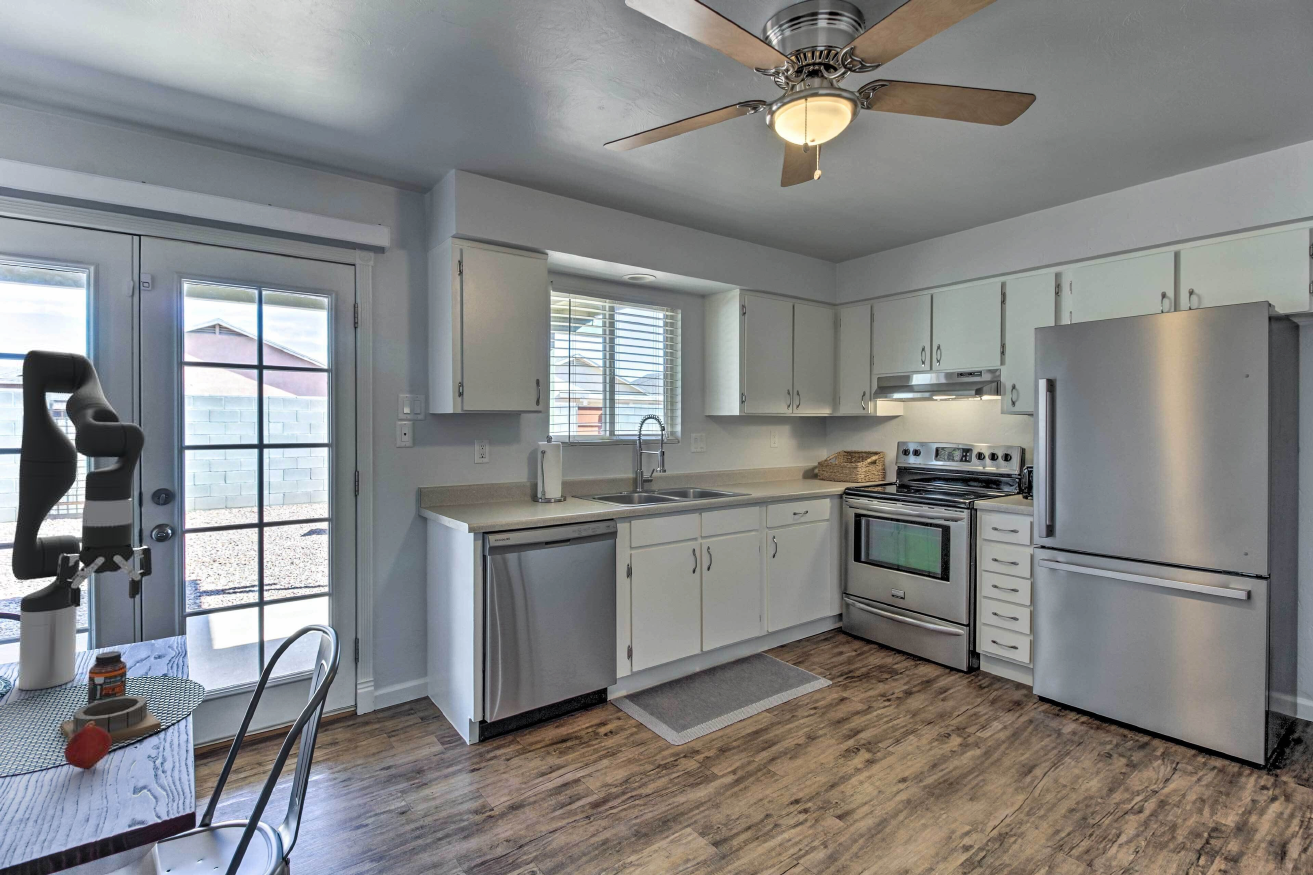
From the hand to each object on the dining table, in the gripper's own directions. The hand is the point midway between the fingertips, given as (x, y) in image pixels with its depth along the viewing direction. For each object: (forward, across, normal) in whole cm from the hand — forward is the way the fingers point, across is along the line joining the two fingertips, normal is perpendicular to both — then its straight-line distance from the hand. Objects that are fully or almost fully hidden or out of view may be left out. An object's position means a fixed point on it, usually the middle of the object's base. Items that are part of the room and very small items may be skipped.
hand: (105, 601), depth 126 cm
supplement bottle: (+24, -2, -4) cm, 24 cm away
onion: (+23, +6, +24) cm, 34 cm away
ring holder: (+23, 0, +9) cm, 25 cm away
